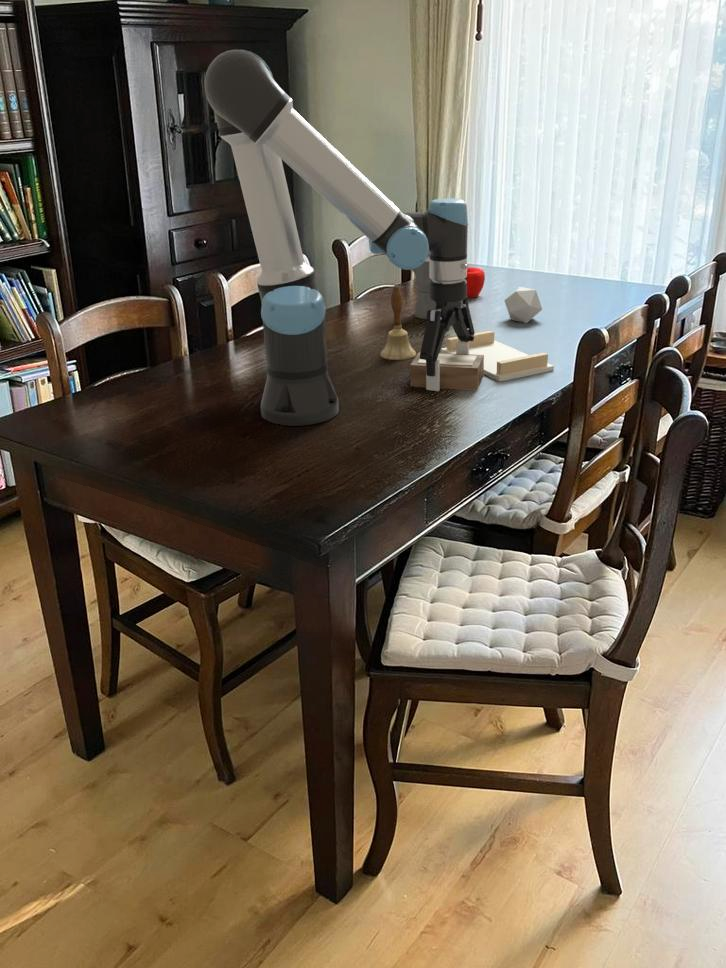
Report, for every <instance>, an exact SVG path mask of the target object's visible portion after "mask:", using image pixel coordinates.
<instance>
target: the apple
mask: <svg viewBox="0 0 726 968" xmlns="http://www.w3.org/2000/svg"><path fill="white" fill-rule="evenodd" d="M485 274H486V273H485V271H484V270H483V269H481V268H478V267H474V266H473V267H471V266H468V269H467V277H466V278H465V280H466V281H467V297H468V299H474V298H476V297H478V296H479V295H480V294H481V292H482V290H483V288H484V285H485V279H486V275H485Z"/></svg>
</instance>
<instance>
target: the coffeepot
mask: <svg viewBox="0 0 726 968" xmlns="http://www.w3.org/2000/svg"><path fill="white" fill-rule="evenodd" d="M429 255H430V253H429V252H428V256H427V258H426V260H425V261H424V263H423V264H422V265H420V266H419V267H417V268H415V269H411V270H412V271H413V273H414V275H415V278H416V284H417V286H418V287H417V288H418V291H417V297H416V302H415V303H416V304H415V309H414V317H415V318H418V319H421V320H427V312H428V310H435V308H436V303H435V301H433V300H431V299H430V282H431V280H432V279H430V278H429Z"/></svg>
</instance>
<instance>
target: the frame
mask: <svg viewBox="0 0 726 968" xmlns="http://www.w3.org/2000/svg"><path fill="white" fill-rule="evenodd" d="M420 352H421V351H418V353H416V356H415V357H414V358H413V360H412V362H411V363H410V364H409V366H410V368H409V372H410V373H409V375H410V376H409V377H410V381H409V383H410V386H411V387H412V386H414V387H413V388H426V360H423V359H420ZM437 360H440V389H447V388H448V390H449V389H450V390H465V391H466V390H467V391H469V390H470V391H478V389H479V387H480V385H481V383H482V380H483V377H484V375H485V374H484V355H473V354H451V353H441V352H439V355H438V358H437Z"/></svg>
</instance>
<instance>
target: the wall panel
mask: <svg viewBox="0 0 726 968" xmlns="http://www.w3.org/2000/svg"><path fill="white" fill-rule="evenodd" d="M456 341H460V340H459V339H458V337H457V336H454V337H453V336H452V337H447V338H446V347H441V349H440V353H451V354H456ZM469 354H473V355H484V374H483V375H484V376H485V375H486V376H487V377H489V378H491V379H493V380H494V381H497V382H504V381H508V380H513V379H518V378H522V377H523V378H524V377H528V376H533V375H537V374H543V373H548V372H552V371H553V372H554V371H555V369H554V367H555V365H552V364H551V363H548V360H549V358H548V357H549V354H548V353H546V352H539V353H534V354H527V353H525V352H522V351H521V350H518V349H515V348H513V347H511V346H509V345H506V344H504V343H501V342H499V341H497V340H496V339H495V331H493V330H487V331H480V332H475V334H474V341H469Z"/></svg>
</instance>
